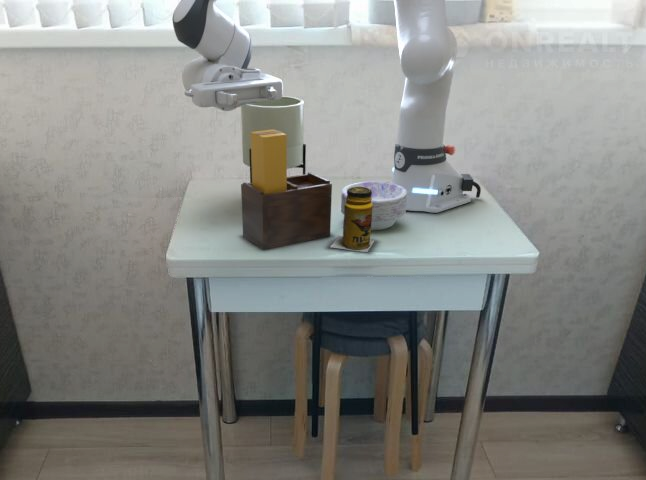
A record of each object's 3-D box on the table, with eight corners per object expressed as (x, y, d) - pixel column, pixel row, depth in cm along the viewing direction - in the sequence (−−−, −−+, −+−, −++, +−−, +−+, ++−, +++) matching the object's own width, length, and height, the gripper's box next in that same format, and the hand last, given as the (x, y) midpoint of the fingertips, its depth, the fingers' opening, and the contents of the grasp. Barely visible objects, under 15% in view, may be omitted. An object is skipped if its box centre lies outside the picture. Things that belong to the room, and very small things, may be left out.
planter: (300, 209, 174) (301, 108, 160) (238, 205, 176) (234, 105, 162) (309, 191, 186) (311, 96, 172) (251, 188, 188) (248, 93, 174)
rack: (307, 223, 165) (308, 171, 158) (330, 236, 159) (332, 181, 152) (242, 236, 158) (240, 181, 151) (263, 249, 151) (262, 193, 144)
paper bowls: (333, 231, 161) (335, 196, 156) (347, 211, 173) (349, 178, 168) (399, 238, 158) (402, 202, 153) (408, 217, 170) (412, 183, 165)
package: (274, 187, 154) (273, 128, 146) (287, 194, 150) (287, 133, 143) (252, 191, 151) (250, 131, 144) (264, 198, 147) (263, 136, 140)
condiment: (367, 252, 150) (371, 195, 143) (329, 248, 152) (331, 191, 145) (374, 241, 156) (378, 186, 149) (338, 237, 158) (340, 182, 151)
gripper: (179, 75, 147) (207, 85, 138) (264, 68, 156) (296, 76, 146) (182, 108, 151) (210, 119, 142) (264, 99, 160) (296, 109, 150)
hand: (254, 97), depth 144 cm, fingers open, 8 cm apart
